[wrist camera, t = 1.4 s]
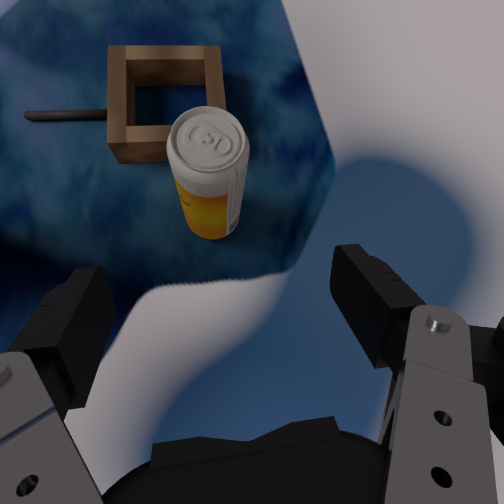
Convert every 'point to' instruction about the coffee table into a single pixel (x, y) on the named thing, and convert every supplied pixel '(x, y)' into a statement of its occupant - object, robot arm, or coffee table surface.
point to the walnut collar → (147, 74)
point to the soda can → (209, 169)
